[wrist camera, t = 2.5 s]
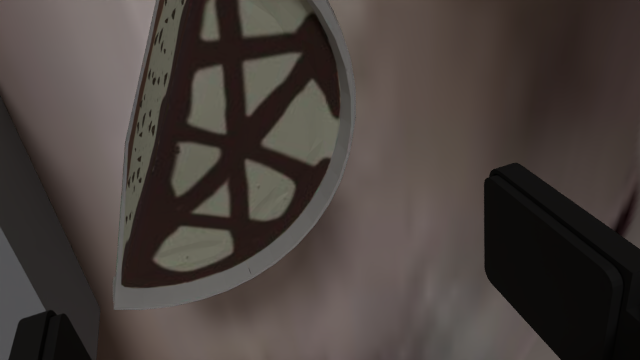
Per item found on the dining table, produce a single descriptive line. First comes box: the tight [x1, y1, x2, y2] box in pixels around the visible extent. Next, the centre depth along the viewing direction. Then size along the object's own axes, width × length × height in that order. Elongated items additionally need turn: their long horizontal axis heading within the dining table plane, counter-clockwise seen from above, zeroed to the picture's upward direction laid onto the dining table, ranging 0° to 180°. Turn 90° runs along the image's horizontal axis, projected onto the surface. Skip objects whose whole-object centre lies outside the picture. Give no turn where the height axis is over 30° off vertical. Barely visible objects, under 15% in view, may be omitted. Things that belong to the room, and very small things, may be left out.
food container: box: [113, 0, 356, 310], centre depth 19 cm, size 12×6×10 cm, turn 160°
